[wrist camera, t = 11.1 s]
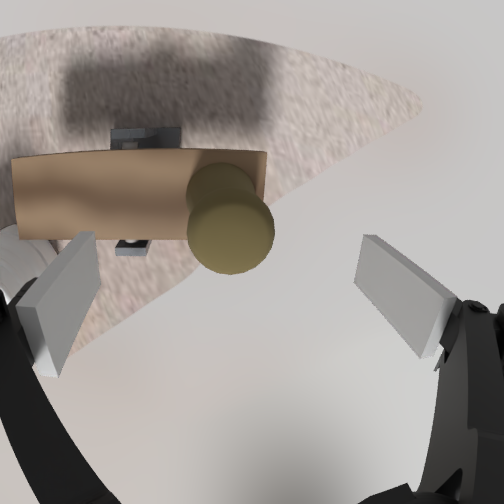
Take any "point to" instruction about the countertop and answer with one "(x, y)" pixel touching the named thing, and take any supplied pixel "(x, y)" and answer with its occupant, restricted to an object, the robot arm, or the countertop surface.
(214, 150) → the seesaw plank
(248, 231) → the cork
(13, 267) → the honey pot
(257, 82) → the countertop surface
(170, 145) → the seesaw stand
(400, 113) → the countertop surface
